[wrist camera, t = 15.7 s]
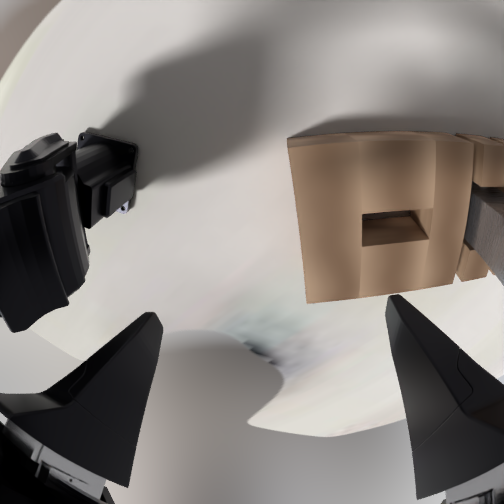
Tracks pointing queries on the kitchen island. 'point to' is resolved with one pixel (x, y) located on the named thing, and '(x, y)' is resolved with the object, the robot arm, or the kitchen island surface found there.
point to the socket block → (388, 209)
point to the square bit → (487, 226)
